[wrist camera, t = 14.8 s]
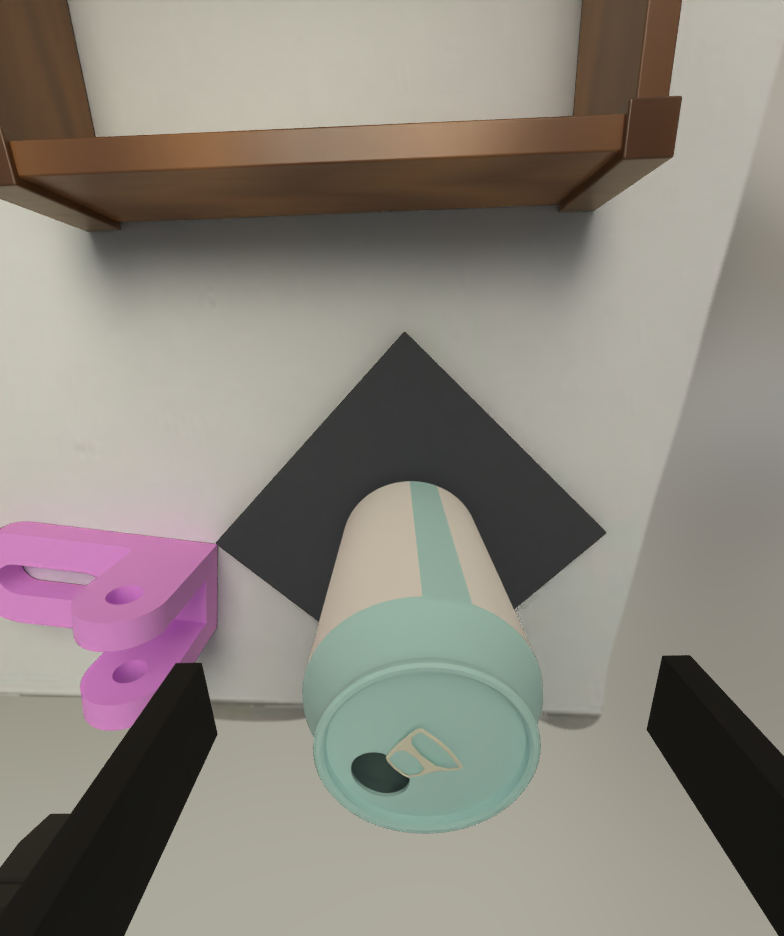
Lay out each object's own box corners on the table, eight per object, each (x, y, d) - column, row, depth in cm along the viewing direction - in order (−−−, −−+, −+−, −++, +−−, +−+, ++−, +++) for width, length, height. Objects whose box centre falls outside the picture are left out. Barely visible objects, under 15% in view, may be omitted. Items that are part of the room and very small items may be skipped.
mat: (404, 331, 19) (404, 331, 18) (601, 528, 22) (607, 533, 21) (219, 538, 22) (214, 543, 22) (412, 685, 25) (413, 693, 25)
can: (455, 605, 23) (518, 869, 11) (334, 581, 22) (270, 832, 11) (490, 492, 21) (611, 674, 9) (357, 464, 20) (310, 618, 9)
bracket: (217, 544, 22) (141, 628, 16) (216, 626, 24) (148, 734, 17) (-20, 516, 22) (-201, 589, 15) (-4, 601, 24) (-162, 702, 17)
